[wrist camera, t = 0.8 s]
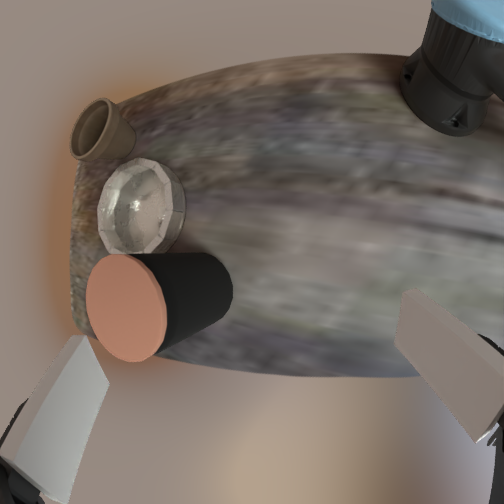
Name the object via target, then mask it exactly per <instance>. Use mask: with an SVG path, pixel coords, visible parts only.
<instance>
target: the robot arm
mask: <svg viewBox="0 0 504 504" xmlns="http://www.w3.org/2000/svg"><path fill="white" fill-rule="evenodd" d="M431 4H432V8H431V13H430V17H429V21H428V25H427V28H426V32H425V35H424V38H423V42H422V45H421V47H419V48H418V49H417V50H416V51H415V52H414V53H413V54H412V55H411V56H410V57H409V58H408V59H407V60H406V61H405V63H404V65H403V67H402V71H401V75H400V87H401V91H402V94H403V96H404V98H405V100H406V102H407V103H408V105H409V106H410V108H411V109H412V110H413V111H414V113H415V114H416V115H417V116H418V117H419V118H420V119H421V120H423V121H424V122H425V123H426V124H428V125H429V126H431V127H432V128H434V129H435V130H437V131H439V132H442V133H444V134H447V135H451V136H467V135H469V134H471V133H473V132H474V131H475V130H476V129H477V128H478V127H479V126H480V125H481V124H482V123H483V121H484V119H485V116H486V112H487V108H488V103H489V99H490V96H491V95H492V94H493V93H494V94H496V95H497V96H498V97H499V98H500V99H501V100H502V101H503V102H504V0H432V1H431ZM394 345H395V346H396V347H397V348H398V349H399V351H400V352H401V353H402V354H403V355H404V356H405V357H406V359H407V360H408V361H409V362H410V363H411V364H412V366H413V367H414V368H415V369H416V370H417V371H418V373H419V374H420V375H421V376H422V377H423V379H424V380H425V381H426V382H427V383H428V384H429V386H430V387H431V388H432V389H433V391H434V392H435V393H436V394H437V395H438V397H439V398H440V399H441V400H442V401H443V403H444V404H445V405H446V407H447V408H448V409H449V410H450V411H451V413H452V414H453V415H454V417H455V418H456V419H457V420H458V422H459V423H460V424H461V426H462V427H463V428H464V429H465V431H466V432H467V433H468V435H469V436H470V437H471V439H472V440H473V441H474V443H477V442H478V441H479V440H481V439H482V438H483V437H485V436H486V435H487V434H488V433H489V432H490V431H491V430H492V428H493V427H494V426H495V424H496V423H498V424H499V425H500V426H499V427H498V428H497V430H496V431H495V432H494V434H493V435H492V436H491V438H490V439H489V441H488V443H487V446H489V445H490V444H491V443H492V442H493V441H494V439H495V438H496V440H495V442H494V443H493V446H496V456H495V468H494V476H493V483H492V489H491V495H490V500H489V504H504V350H503V349H501V348H500V347H499V348H498V345H496V344H495V343H494V342H493V341H492V340H490V339H489V338H487V337H485V336H482V335H480V334H476V333H475V332H474V331H472V330H471V329H470V328H469V327H467V326H466V325H465V324H464V323H462V322H461V321H460V320H458V319H457V318H456V317H455V316H453V315H452V314H451V313H449V312H448V311H447V310H445V309H444V308H443V307H441V306H440V305H439V304H437V303H436V302H435V301H433V300H432V299H431V298H429V297H428V296H426V295H425V294H424V293H422V292H421V291H420V290H418V289H417V288H415V289H411V290H407V291H403V294H402V301H401V308H400V315H399V320H398V326H397V332H396V337H395V342H394ZM109 385H110V384H109V382H108V380H107V379H106V376H105V375H104V373H103V371H102V369H101V367H100V365H99V362H98V360H97V358H96V356H95V354H94V352H93V350H92V347H91V345H90V343H89V341H88V339H87V336H86V335H73V336H71V338H70V339H69V340H68V342H67V343H66V344H65V346H64V347H63V348H62V350H61V352H60V353H59V354H58V355H57V357H56V358H55V360H54V361H53V363H52V364H51V365H50V367H49V368H48V370H47V371H46V373H45V374H44V376H43V377H42V379H41V380H40V382H39V383H38V385H37V386H36V388H35V389H34V391H33V392H32V394H31V396H30V397H29V398H28V399H27V400H26V401H25V402H24V403H22V404H21V405H20V406H19V408H18V410H17V411H16V413H15V414H14V418H12V420H11V421H10V425H8V427H7V428H6V430H5V432H4V434H3V436H2V437H1V439H0V504H45V502H44V501H43V499H42V498H41V497H40V496H39V494H40V491H41V492H42V493H43V494H45V495H46V496H47V497H49V498H50V499H52V500H54V501H57V502H59V503H62V504H68V501H69V497H70V494H71V490H72V487H73V483H74V480H75V477H76V474H77V470H78V467H79V464H80V461H81V458H82V455H83V452H84V449H85V446H86V443H87V440H88V438H89V435H90V432H91V430H92V427H93V424H94V422H95V419H96V417H97V414H98V412H99V409H100V406H101V404H102V401H103V399H104V397H105V394H106V392H107V389H108V387H109Z"/></svg>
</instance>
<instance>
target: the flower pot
mask: <svg viewBox="0 0 504 504" xmlns="http://www.w3.org/2000/svg"><path fill="white" fill-rule="evenodd" d="M135 141H136V134H135V132H134V130H133V129H132V128H131V126H130V125H129V124H128V123H127V122H126V121H125V120H124V119H123V117H122V116H121V115H120V114H119V109H118V107H117V106H116V104H114V103H113V102H111V101H110V100H109V99H107V98H99V99H97V100H95V101H93V102H92V103H91V104H89V105H88V106H87V107H86V108H85V109H84V110H83V112H82V113H81V114H80V116H79V118H78V119H77V121H76V123H75V125H74V127H73V130H72V133H71V137H70V152H71V154H72V156H73V157H74V158H76V159H78V160H81V161H85V162H90V161H93V160H95V159H123V158H125V157H126V156H127V155H128V154H129V153H130V152H131V151H132V149H133V147H134V145H135Z"/></svg>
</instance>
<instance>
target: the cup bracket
mask: <svg viewBox="0 0 504 504" xmlns="http://www.w3.org/2000/svg"><path fill="white" fill-rule="evenodd" d="M97 212H98V231H99V234H100V236H101V238H102V240H103V243H104V245H105V247H106V248H107V250H108V252H109V253H110V254H126V255H127V254H132V253H166V252H167V251H168V250H169V249H170V248H171V247H172V246H173V244H174V243H175V241H176V240H177V238H178V236H179V235H180V232H181V230H182V227H183V224H184V221H185V215H186V197H185V192H184V189H183V186H182V184H181V182H180V180H179V178H178V177H177V176H176V175H175V173H174V172H172V171H171V170H170V168H169V167H167V166H165V165H163V164H161V163H158V162H156V161H152V160H148V159H144V158H140V157H139V158H138V157H137V158H135V159H133V160H131V161H129V162H126V163H124V164H122V165H120V166H119V167H118V168H117V169H116V170H115V172H114V173H113V174H112V176H111V177H110V178H109V179H108V181H107V182H106V183H105V185H104V188H103V191H102V194H101V198H100V201H99V204H98V209H97Z"/></svg>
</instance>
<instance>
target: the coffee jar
mask: <svg viewBox="0 0 504 504" xmlns="http://www.w3.org/2000/svg"><path fill="white" fill-rule="evenodd" d="M232 298H233V285H232V282H231V278H230V275H229V273H228V271H227V270H226V268H225V267H224V265H223V264H222V263H221V262H220V261H218V260H217V259H216V258H215V257H213V256H210V255H208V254H205V253H132V254H127V255H126V254H111V255H109V256H106V257H104V258H102V259H101V260H100V261H99V262H98V263H97V264H96V265H95V267H94V268H93V269H92V272H91V274H90V277H89V279H88V283H87V290H86V305H87V312H88V316H89V320H90V323H91V326H92V328H93V330H94V332H95V334H96V336H97V338H98V340H99V341H100V342H101V343H102V344H103V346H104V347H105V348H106V349H107V350H108V351H109V352H110V353H111V354H113V355H114V356H116V357H117V358H119V359H122V360H125V361H128V362H138V361H143V360H145V359H146V358H148V357H149V356H151V355H153V354H156V353H159V352H161V351H163V350H165V349H167V348H169V347H171V346H173V345H174V344H176V343H178V342H180V341H182V340H184V339H186V338H187V337H189V336H191V335H193V334H195V333H197V332H199V331H200V330H202V329H204V328H206V327H208V326H209V325H211V324H213V323H215V322H216V321H218V320H219V319H221V318H222V317H223V316H224V315H225V314H226V312H227V311H228V310H229V308H230V305H231V301H232Z"/></svg>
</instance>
